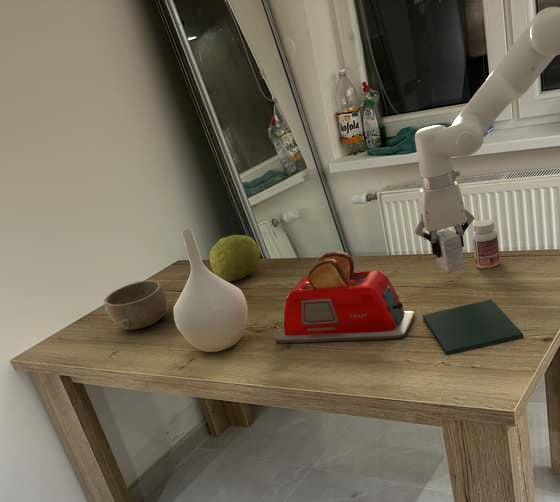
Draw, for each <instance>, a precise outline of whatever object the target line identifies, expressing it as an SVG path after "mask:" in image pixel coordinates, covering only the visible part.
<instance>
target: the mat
mask: <svg viewBox="0 0 560 502" xmlns="http://www.w3.org/2000/svg"><path fill="white" fill-rule="evenodd" d="M422 319H423V321H424V323H425V324H426V326H427V327H428V329H429V331H430V332H431V333H432V335H433V337H434V338H435V340H436V341H437V343H438V344H439V346H440V348H441V349H442V350H443V353H444V354H445V355H446V356H449V355H453V354H457V353H463V352H466V351H471V350H476V349H480V348H484V347H488V346H494V345H497V344H502V343H506V342H511V341H514V340H519V339H523V338H524V333H523V332H522V330H520V329H519V327H517V325H515V323H514V322H513V321H512V320H511V319H510V318H509V317H508V316H507V315H506V314H505V313H504V312H503V310H502V309H500V307H499V306H498V305H497V304H496V303H495V302H494V300H492V299H486V300H482V301H478V302H474V303H470V304H465V305H460V306H456V307H452V308H447V309H443V310H439V311H435V312H430V313H426V314H422Z"/></svg>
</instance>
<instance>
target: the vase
mask: <svg viewBox="0 0 560 502" xmlns="http://www.w3.org/2000/svg"><path fill="white" fill-rule="evenodd" d="M181 236H182V240H183V244H184V246H185V252H186V255H187V258H188V261H189V264H190V273H189V277H188V279H187V280H186V283H185V285H184V286H183V290H182V292H181V293H180V295H179V297H178V299H177V300H176V301H175V302H176V303H175V304H174V306H173V321H174V323H175V326H176V328H177V330H178V331H179V333H180V334H181V335H182V337H184V339H185V340H186V342H188V343H189V344H190V345H192V346H193V347H194V348H196V349H197V350H199V351H201V352H204V353H217V352H221V351H224V350H227V349H230V348H231V347H234V346H235V345H236V344H237V343H238V342H239V341H240V340H241V338H242V337H243V335H244V332H245V329H246V327H247V323H248V311H249V307H248V303H247V299H246V296H245V295H244V293H243V292H242V289H241V288H239V287H238V286H236V285H234V284H233V283H230V282H229V281H228V280H223V279H221V278H220V277H218V276H217V275H216V274H215V272H213V271H210V269H208V268H207V266H205V264H204V262H203V259H202V256H201V252H200V249H199V247H198V243H197V240H196V237H195V233H194V230H193V228H186V229H183V230H181Z"/></svg>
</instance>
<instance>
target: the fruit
mask: <svg viewBox="0 0 560 502" xmlns="http://www.w3.org/2000/svg"><path fill="white" fill-rule="evenodd" d="M260 260H261V248H260V247H259V246H258V244H257V242H256V241H255V240H254V239H253V238H252V237H250V236H249V235H243V234H232V235H229V236H226V237H225V236H224V237H221V238H219V239H218V241H217V242H216V243H215V244H214V245H213V246H212V248H211V250H210V251H209V264H210V267H211V270H212V272H213V273H214V274H215V275H217V276H218V277H220V278H221V279H223V280H225V281H227V282H229V283H230V282H233V281H234V282H235V281H239V280H242V279H244V278H245V277H247V276H250V274H252V273H254V272H255V271H256V269H257V268H258V267H259V264H260Z"/></svg>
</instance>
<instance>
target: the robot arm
mask: <svg viewBox="0 0 560 502" xmlns="http://www.w3.org/2000/svg"><path fill="white" fill-rule="evenodd" d="M556 56H560V6H548V7H545V8H543V9H541V10H540V11H538V12H537V14H535V16H534V17H533V18H532V19H531V20H530V22H529V23H528V24H527V26H526V27H525V28H524V30H522V32H521V33H520V35H519V36H518V37H517V38H516V40H515V41H514V42H513V44H512V45H511V46H510V47H509V48H508V51H507V52H506V53H505V55H504V56H503V57H502V58H501V59H500V61H499V62H498V63H497V64H496V65H495V67H494V68H493V70H492V71H491V72H490V74H489V75H488V77H487V78H486V79H485V81H484V82H483V83H482V85H481V86H480V87H479V88H478V89H477V91H476V92H475V93H474V94H473V96H472V97H471V99H470V100H469V101H468V103H467V104H466V105H465V106H464V107H463V109H462V111H461V112H459V114H458V116H457V117H456V118H455V120H454V121H453V123H452V125H450V126H445V125H441V124H435V125H430V126H425V127H423V128H420V129H419V130H417V131H416V132H415V134H414V143H415V149H416V154H417V155H416V156H417V161H418V168H419V174H420V181H421V186H422V188H420V189H419V192H418V193H419V194H418V202H419V215H420V220H419V222H418V223H417V226H416V228H415V230H414V234H415V235H416V236H419V237H422V238H424V239H425V240H427V241H429V242H430V247H431V251H432V254H433V255H435V258H436V257H437V258H440V257H441V255H440V248H439V243H438V242H437V239H436V238H437V232H438V231H441V230H445V229H449V228H452V227H453V228H454V231H455V233H456V234H458V235H459V236H460V239H461V245H462V248H464V247H465V243H464V242H465V241H464V235H465V232H466V230H467V229H468V228H469V226H470V225H472V223H473V222H474V221H475V219H476V217H475V216H474V215H473V214H472V213H470V211H468V209H466V208H465V203H464V200H463V194H462V192H461V187H460V186H459V183H458V181H456V178H459V177H461V171H460V170H454V166H453V159H452V158H461V157H469V156H472V155H475V153H477V152H478V151H480V149H481V148H482V146H483V143H484V136H485V133H486V132H487V131H488V130H489V129H490V127H491V126H492V124H494V123H495V121H496V120H497V119H498V117H499V116H500V115H501V114H502V113H503V111H505V110H506V108H508V106H509V105H511V104H512V103H514V102H516V101H518V100H519V99H520V98H522V97H523V95H525V94H526V93H527V92H528V91H529V89H530V88H531V87H532V86H533V84H535V82H536V80H537V79H538V78H539V77H540V75H541V74H542V73H543V72H544V70H545V69H546V68H547V67H548V66H549V64H550V63H551V62H552V61H553V60H554V59H555V57H556ZM424 229H425V231H424ZM463 251H464V249H462V252H463ZM463 253H464V252H463Z"/></svg>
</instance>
